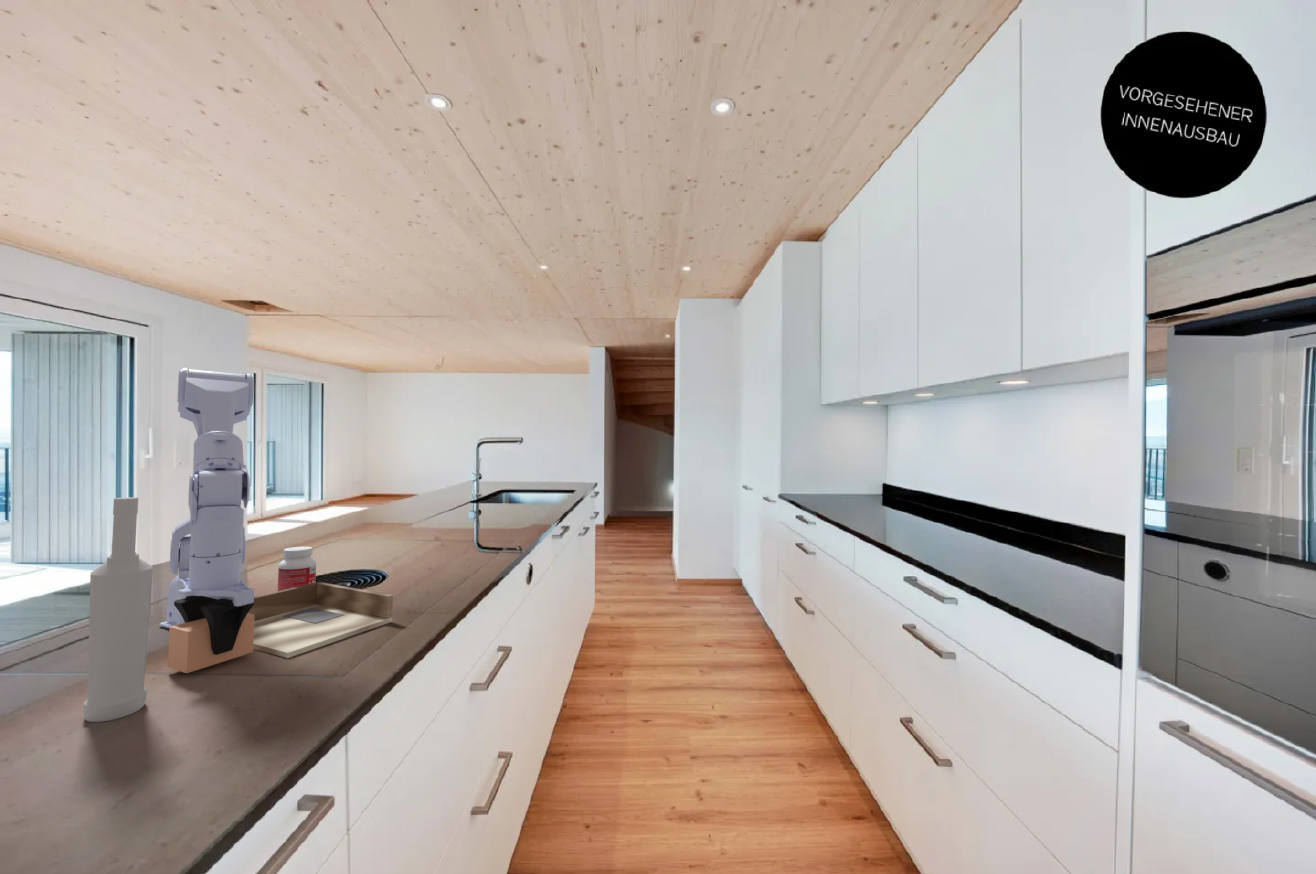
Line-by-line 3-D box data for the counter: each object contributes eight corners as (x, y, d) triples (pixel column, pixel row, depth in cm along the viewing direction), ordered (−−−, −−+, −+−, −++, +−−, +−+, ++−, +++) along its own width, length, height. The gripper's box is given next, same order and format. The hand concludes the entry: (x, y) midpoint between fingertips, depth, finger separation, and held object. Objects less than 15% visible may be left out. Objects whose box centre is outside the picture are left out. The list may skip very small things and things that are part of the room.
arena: (208, 636, 84) (209, 607, 84) (317, 606, 100) (318, 581, 100) (287, 658, 76) (288, 625, 76) (391, 621, 93) (392, 595, 93)
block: (186, 673, 69) (188, 632, 69) (167, 667, 70) (169, 626, 70) (252, 652, 76) (254, 614, 76) (234, 647, 78) (236, 610, 78)
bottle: (88, 728, 57) (100, 501, 57) (77, 714, 59) (88, 498, 60) (152, 708, 61) (162, 498, 62) (139, 696, 64) (149, 495, 64)
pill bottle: (314, 606, 100) (316, 549, 101) (275, 611, 97) (278, 552, 97) (314, 598, 106) (316, 544, 106) (277, 602, 102) (280, 547, 102)
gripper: (153, 553, 73) (148, 650, 72) (213, 564, 67) (208, 669, 67) (212, 545, 79) (208, 633, 79) (271, 554, 74) (267, 650, 73)
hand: (212, 649), depth 73 cm, fingers closed on block, 4 cm apart
